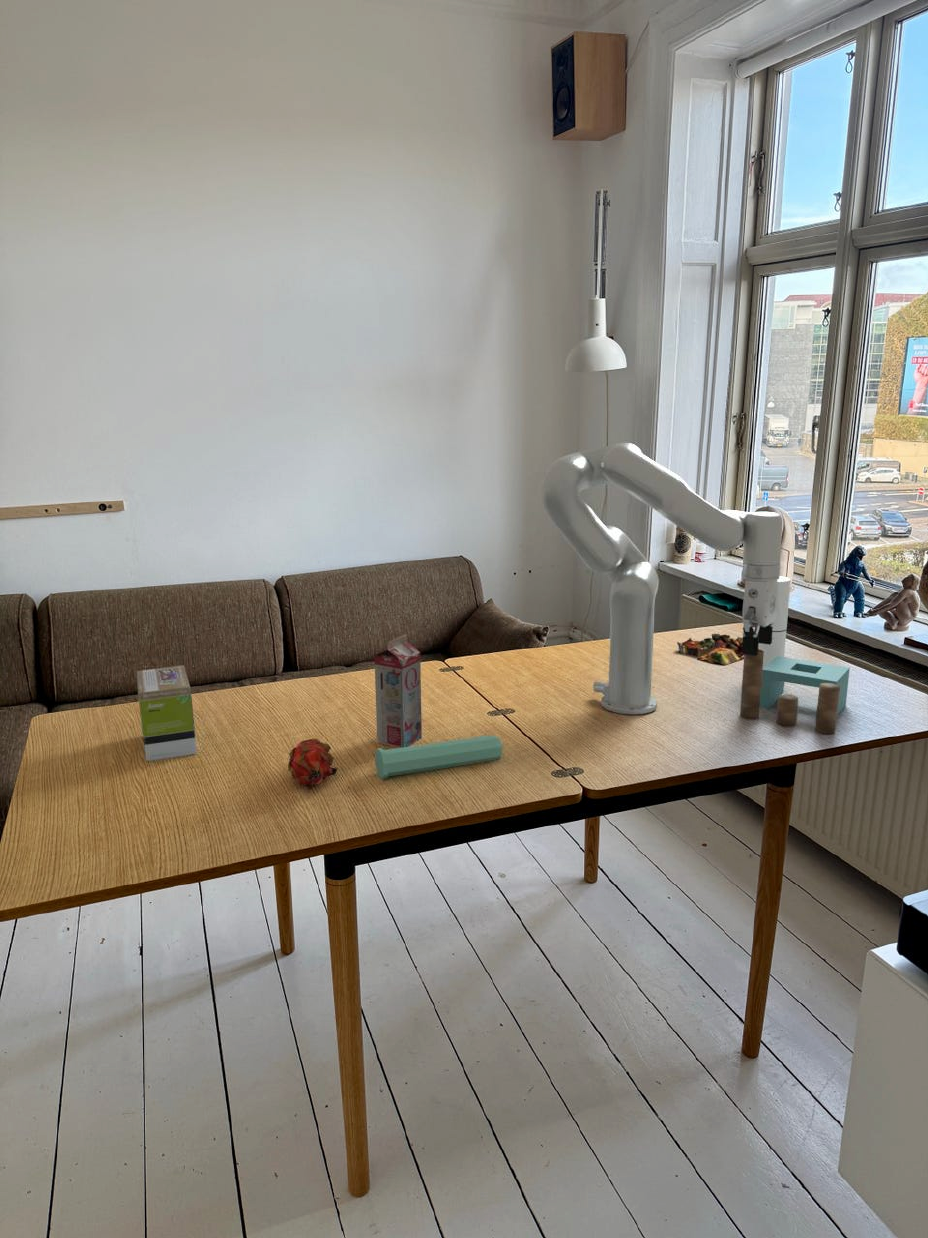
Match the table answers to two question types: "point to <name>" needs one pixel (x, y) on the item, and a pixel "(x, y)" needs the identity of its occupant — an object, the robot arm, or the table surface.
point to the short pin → (787, 710)
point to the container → (437, 755)
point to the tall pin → (751, 686)
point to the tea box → (166, 713)
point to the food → (714, 649)
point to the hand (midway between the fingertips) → (757, 648)
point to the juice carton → (398, 694)
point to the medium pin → (827, 708)
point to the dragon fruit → (311, 762)
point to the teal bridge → (801, 678)
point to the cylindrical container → (778, 624)
